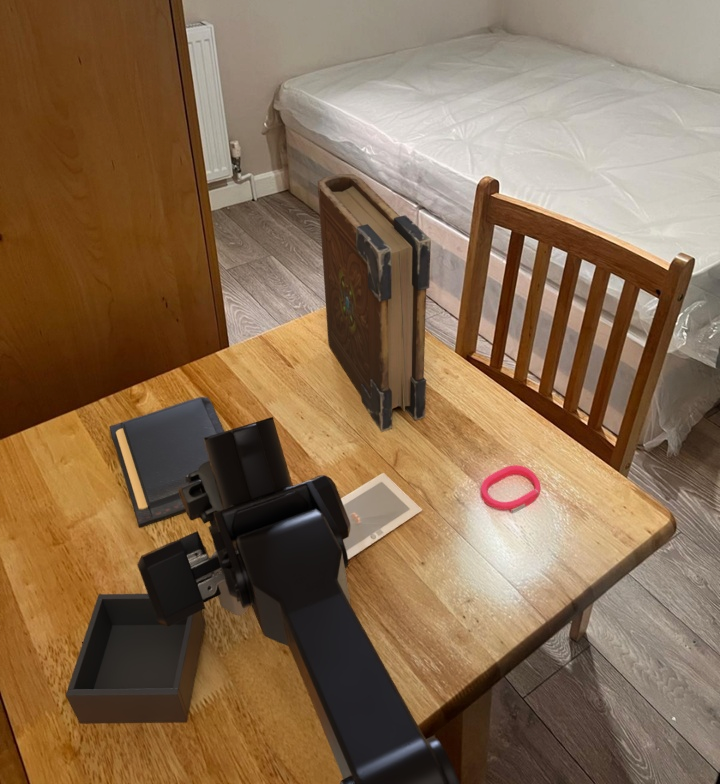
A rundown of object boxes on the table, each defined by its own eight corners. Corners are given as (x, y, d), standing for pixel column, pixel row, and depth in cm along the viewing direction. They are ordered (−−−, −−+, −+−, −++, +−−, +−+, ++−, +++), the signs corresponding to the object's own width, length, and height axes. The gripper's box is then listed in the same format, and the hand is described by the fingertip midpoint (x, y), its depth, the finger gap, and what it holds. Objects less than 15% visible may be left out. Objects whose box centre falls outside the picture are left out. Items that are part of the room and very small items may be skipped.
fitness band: (500, 521, 91) (501, 513, 90) (471, 490, 95) (472, 482, 94) (549, 494, 94) (550, 486, 94) (519, 465, 99) (520, 457, 98)
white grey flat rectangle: (288, 536, 90) (287, 525, 89) (383, 478, 97) (383, 466, 96) (325, 580, 85) (324, 569, 84) (422, 515, 92) (422, 504, 91)
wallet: (249, 479, 95) (131, 520, 90) (250, 489, 96) (134, 530, 91) (209, 387, 110) (106, 418, 105) (211, 396, 111) (109, 427, 106)
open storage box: (186, 722, 72) (177, 694, 69) (79, 723, 72) (65, 695, 69) (205, 621, 81) (198, 592, 78) (109, 623, 81) (98, 594, 78)
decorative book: (424, 417, 106) (431, 239, 89) (380, 432, 104) (378, 252, 87) (360, 329, 124) (355, 166, 107) (321, 340, 122) (309, 176, 105)
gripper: (330, 416, 64) (286, 431, 78) (118, 504, 57) (113, 504, 71) (378, 537, 63) (325, 530, 77) (168, 643, 56) (152, 614, 70)
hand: (232, 541), depth 74 cm, fingers closed on power adapter, 6 cm apart
